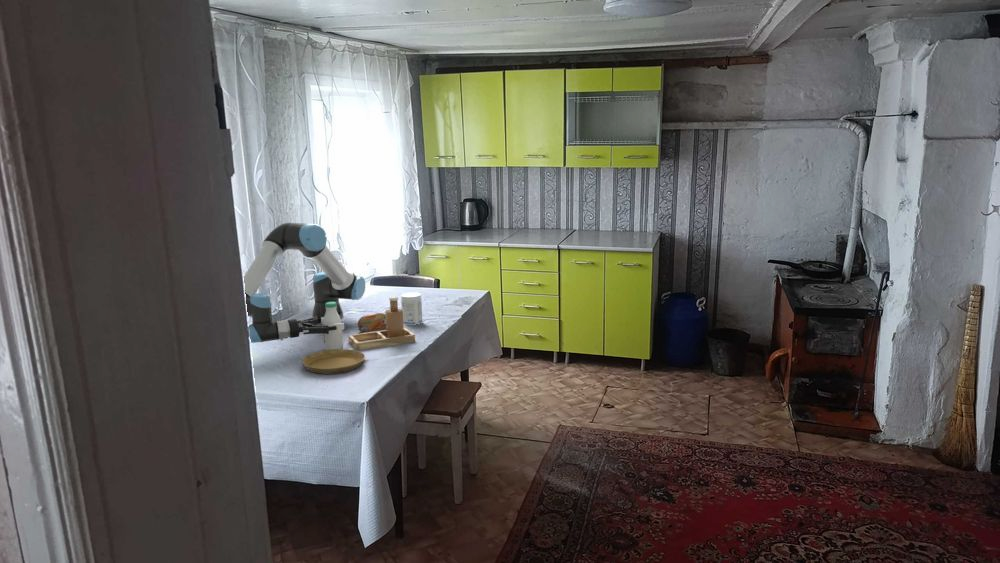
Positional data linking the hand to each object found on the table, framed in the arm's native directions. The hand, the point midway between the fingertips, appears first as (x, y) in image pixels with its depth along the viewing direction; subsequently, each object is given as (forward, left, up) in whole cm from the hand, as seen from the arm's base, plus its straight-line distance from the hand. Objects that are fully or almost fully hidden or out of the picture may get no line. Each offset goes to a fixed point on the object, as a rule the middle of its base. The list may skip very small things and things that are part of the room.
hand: (340, 322), depth 284 cm
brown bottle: (+4, +23, -10) cm, 25 cm away
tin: (-16, +19, -11) cm, 27 cm away
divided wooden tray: (+4, +17, -11) cm, 20 cm away
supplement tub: (-19, +39, -11) cm, 44 cm away
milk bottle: (0, -3, -11) cm, 12 cm away
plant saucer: (+22, -8, -12) cm, 26 cm away
